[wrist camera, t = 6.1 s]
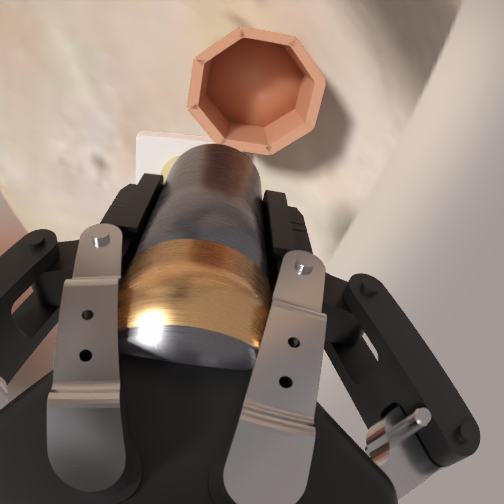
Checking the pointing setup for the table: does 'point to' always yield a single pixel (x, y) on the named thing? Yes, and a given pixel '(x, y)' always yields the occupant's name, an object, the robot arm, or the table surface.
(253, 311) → the cell
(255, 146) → the cup
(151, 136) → the tester
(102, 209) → the table surface
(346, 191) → the table surface
